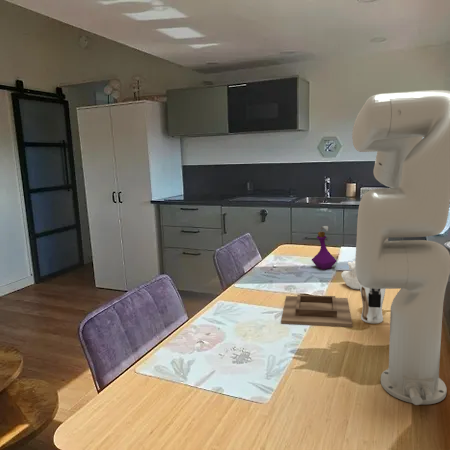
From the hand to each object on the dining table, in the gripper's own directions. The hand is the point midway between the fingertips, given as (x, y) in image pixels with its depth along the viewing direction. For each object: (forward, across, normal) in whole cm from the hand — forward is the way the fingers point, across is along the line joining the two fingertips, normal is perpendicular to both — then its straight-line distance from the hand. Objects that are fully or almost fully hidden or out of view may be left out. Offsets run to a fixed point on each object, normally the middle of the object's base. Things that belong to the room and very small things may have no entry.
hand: (372, 300), depth 118 cm
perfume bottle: (+7, +51, +13) cm, 53 cm away
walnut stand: (+6, +4, +16) cm, 17 cm away
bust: (+6, +27, +2) cm, 28 cm away
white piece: (+6, 0, 0) cm, 6 cm away
